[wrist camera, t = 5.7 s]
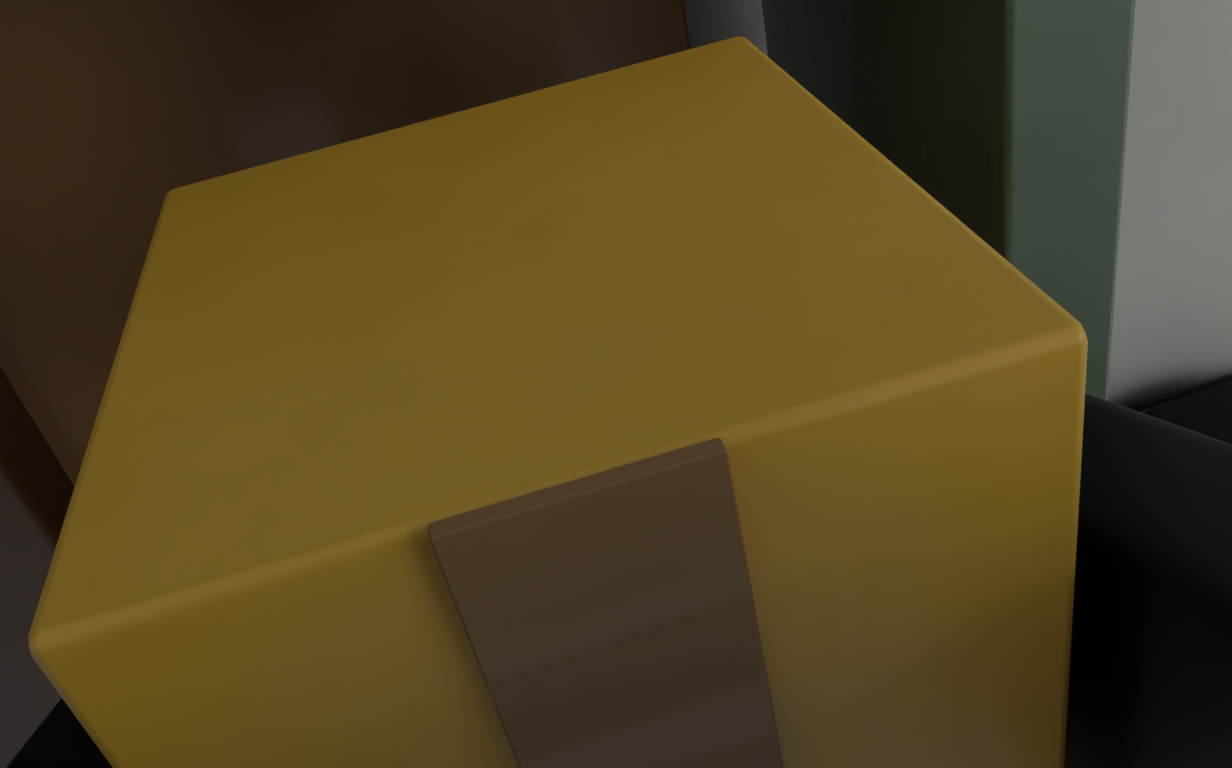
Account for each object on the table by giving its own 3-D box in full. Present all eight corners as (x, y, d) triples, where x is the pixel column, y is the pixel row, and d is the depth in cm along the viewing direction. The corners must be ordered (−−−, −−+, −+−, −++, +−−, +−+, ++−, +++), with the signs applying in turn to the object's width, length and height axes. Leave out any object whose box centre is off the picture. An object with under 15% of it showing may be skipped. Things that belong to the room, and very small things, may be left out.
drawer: (903, -484, 13) (1346, -608, 7) (933, 306, 19) (1187, 568, 13) (-343, -188, 12) (-937, -70, 6) (113, 548, 18) (18, 940, 12)
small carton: (808, 523, 11) (1065, 973, 7) (380, 653, 11) (410, 1198, 7) (744, 30, 8) (1106, 336, 4) (163, 187, 8) (8, 662, 4)
